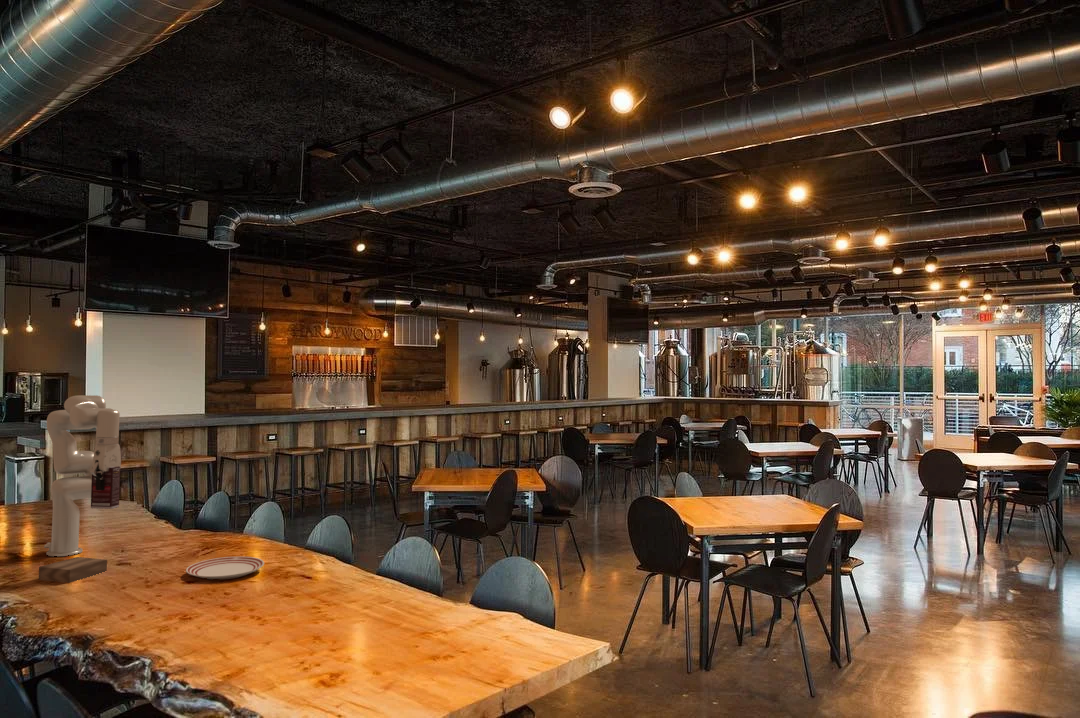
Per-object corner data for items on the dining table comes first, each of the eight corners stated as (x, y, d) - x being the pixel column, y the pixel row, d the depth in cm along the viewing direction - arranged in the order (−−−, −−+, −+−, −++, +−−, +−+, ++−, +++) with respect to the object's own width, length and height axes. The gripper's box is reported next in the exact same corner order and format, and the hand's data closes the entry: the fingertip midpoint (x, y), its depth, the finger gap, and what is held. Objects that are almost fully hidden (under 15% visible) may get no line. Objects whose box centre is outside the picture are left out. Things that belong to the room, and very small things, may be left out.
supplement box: (119, 507, 276) (121, 466, 277) (111, 509, 272) (112, 467, 272) (98, 506, 277) (99, 465, 278) (89, 508, 272) (91, 466, 273)
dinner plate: (235, 585, 256) (235, 576, 256) (168, 580, 262) (169, 571, 262) (278, 567, 283) (278, 558, 283) (216, 562, 289) (217, 554, 289)
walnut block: (38, 580, 259) (39, 566, 259) (76, 569, 275) (77, 556, 275) (69, 584, 256) (70, 569, 256) (106, 572, 271) (107, 559, 271)
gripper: (100, 443, 266) (98, 492, 266) (131, 440, 283) (129, 486, 283) (81, 443, 267) (79, 491, 267) (113, 439, 284) (112, 485, 283)
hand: (105, 488), depth 275 cm, fingers closed on supplement box, 4 cm apart
